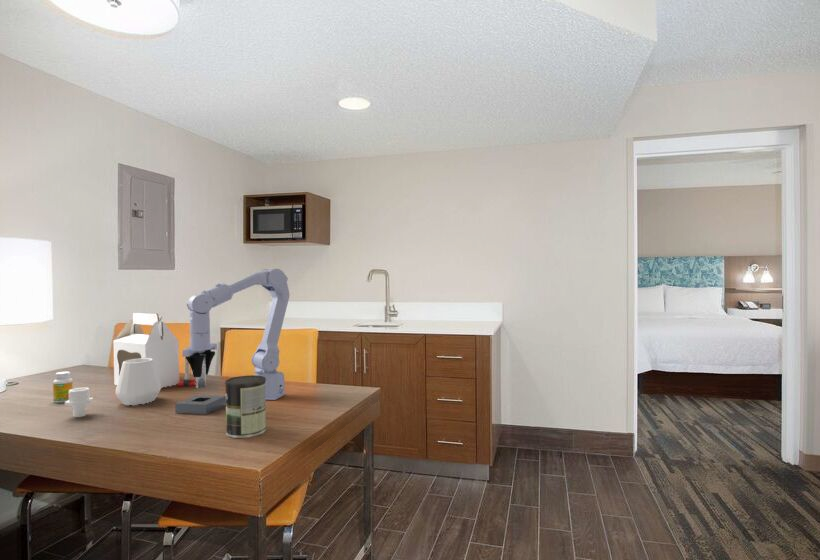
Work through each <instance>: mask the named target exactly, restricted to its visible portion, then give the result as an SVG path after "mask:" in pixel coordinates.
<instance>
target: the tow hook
mask: <svg viewBox="0 0 820 560" xmlns="http://www.w3.org/2000/svg"><path fill="white" fill-rule="evenodd" d="M184 358H185V357H184ZM184 360H185V361H184V363H185V364H184V367H185V369H184V379H183V380H181V381H179V382H178V384H177V385H176V386H178V387H193V386H194V387H196V386H195V385H196V382H194V381H196V378H195V379H191V378H190V372H189V370H190V369H189V368H190V366H189V365H190V364H189V362H188V361H187V359H186V358H185V359H184Z"/></svg>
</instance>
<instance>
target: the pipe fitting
mask: <svg viewBox="0 0 820 560" xmlns="http://www.w3.org/2000/svg"><path fill="white" fill-rule="evenodd" d="M68 393H69V400H68V401H66V402H64V406H69V407H72V416H73V418H81V417H85V416H86V415H87V405H89V404H91V403H92V402H94V397H90V388H89V387H77V388H73V389H71V390H69V392H68Z"/></svg>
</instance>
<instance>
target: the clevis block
mask: <svg viewBox="0 0 820 560" xmlns="http://www.w3.org/2000/svg"><path fill="white" fill-rule="evenodd" d="M174 405H175V406H174V407H175V409H174V411H175V414H182V413H192V414H191V415H203V414H207V415H208V413H209V414H211V413H213V412H215V411H217V410H219V409H222V408H224V407H226V406H225V405H226V395H211V394H207V395H205V394H195V395H193V396H191V397H188V398H186V399H182V400H181V401H178V402H176V403H174ZM223 406H224V407H223ZM214 410H215V411H214ZM212 411H213V412H212ZM210 412H211V413H210Z"/></svg>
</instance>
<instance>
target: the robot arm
mask: <svg viewBox="0 0 820 560" xmlns="http://www.w3.org/2000/svg"><path fill="white" fill-rule="evenodd" d="M288 279H289V278H288V277H287V275H286V274H285V272H284V271H283V270H282V269H280V268H273V269H267V268H265V269H262V270H259V271H255V272H253V273H250V274H249V275H246V276H244V277H243V278H241V279H239V280H236V281H234V282H233V283H230V284H226V283H217V284H214V285H215V287H212V288H210V289H207V290H206V289H205V290H204V289H203V290H202V291H201V294H193V295H191V296H190V298H189V299H188V301H187V303H186V307H187V309H188V310H189V317H190V318H189V336H190V337H189V338H190V344H189V345H190V346H188V347H187V348H185V349H182V357H184V358H186V359H187V361H188V362H189V365H190V366H189V367H190V369H191V372H192V374H193V375H192V376H193V378H196V377H201V374H202V364H203V360H204V357H205V355H200V354H206V376H208V374H209V371H210V369H211V368H210V367H211V364H212V362H213V358H214V357H215V355H216V351H215V350H218V343H215V342H213V343H211V326H210V325H211V323H210V321H211V320H210V311H211V310H212V308H216V307H217V306H219V305H222V304H224V303H225V302H228V301H230V300H232V298H233V297H234V294H236V293H238V292H242V291H243V290H246V289H248V288H250V287H254V286H258V285H259V286H262V288H264V289H265V290H266V291H268V293H269V294H270V296H271V297H272V300H271V305H270V309H269V313H268V316H267V320H266V325H265V327H264V331H263V335H262V340H261V342H259V344H258V345H257V348H256V350H255V352H254V353H253V354H252V356H251V364H252V365H253V367H254V375H255V376H263V377H265V378H266V381H265V401H275V400H278V399H280V398H281V397H284V396H285V395H286V394H287V393H285V392H286V391H285V389H286V387H285V375H284V374H285V373H284V372H282V371H278V367H279V365H280V349H279V346H278V343H279V339H280V336H281V331H282V327H283V323H284V319H285V315H286V313H287V312H286V311H287V308H288V303H289V300H290V290H289V286H288ZM213 350H214V351H213Z"/></svg>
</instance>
